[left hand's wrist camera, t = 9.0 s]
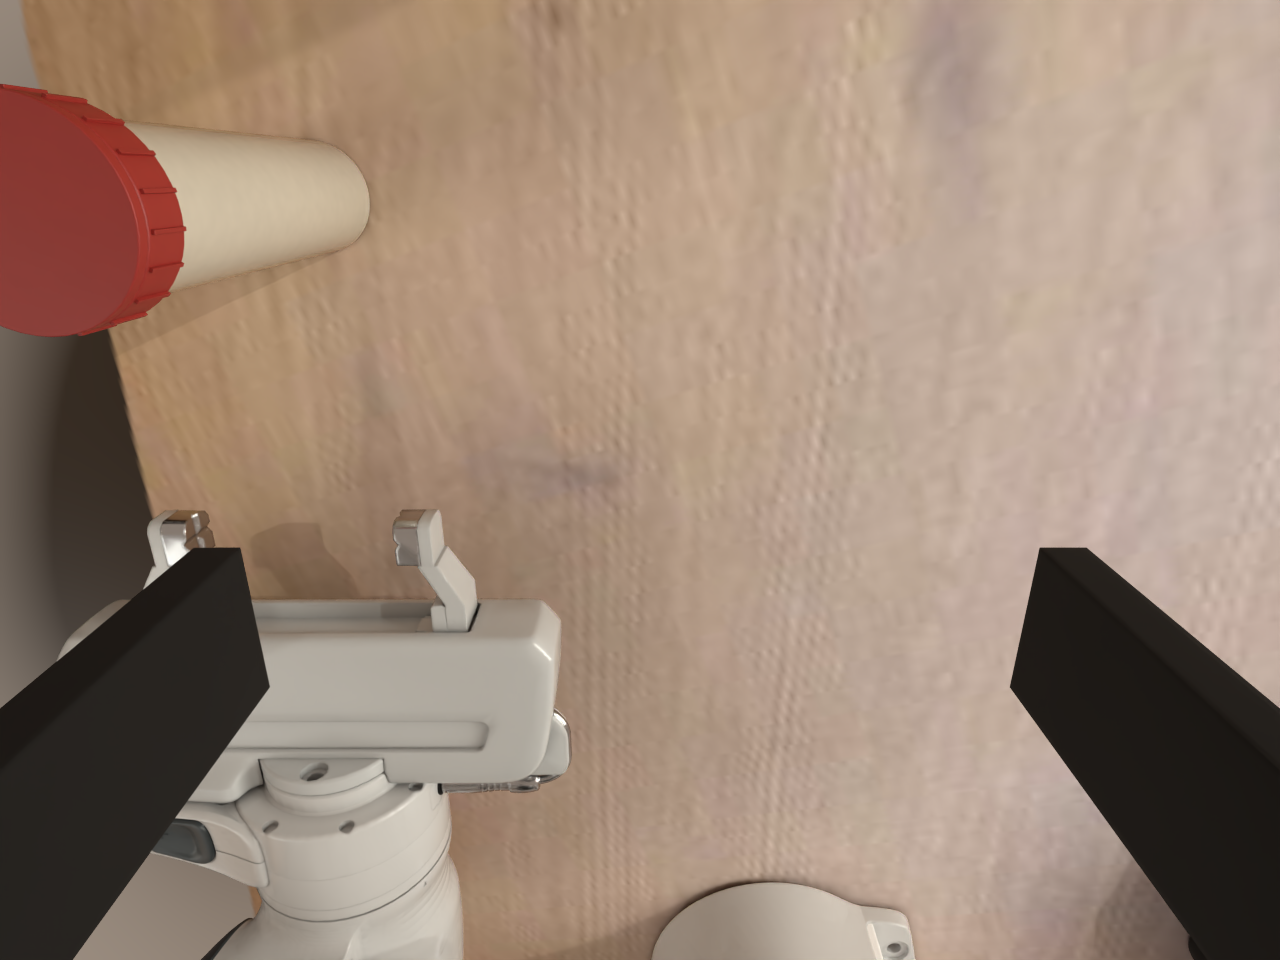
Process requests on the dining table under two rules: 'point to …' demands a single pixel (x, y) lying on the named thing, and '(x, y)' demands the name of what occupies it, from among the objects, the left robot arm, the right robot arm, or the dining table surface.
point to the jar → (255, 198)
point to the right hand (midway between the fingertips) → (296, 514)
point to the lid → (80, 218)
